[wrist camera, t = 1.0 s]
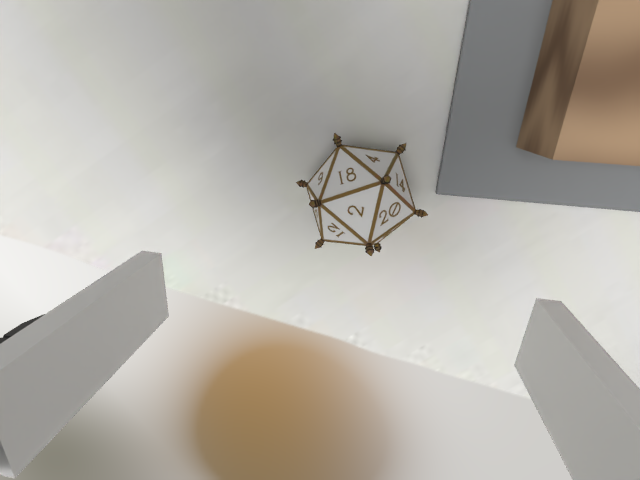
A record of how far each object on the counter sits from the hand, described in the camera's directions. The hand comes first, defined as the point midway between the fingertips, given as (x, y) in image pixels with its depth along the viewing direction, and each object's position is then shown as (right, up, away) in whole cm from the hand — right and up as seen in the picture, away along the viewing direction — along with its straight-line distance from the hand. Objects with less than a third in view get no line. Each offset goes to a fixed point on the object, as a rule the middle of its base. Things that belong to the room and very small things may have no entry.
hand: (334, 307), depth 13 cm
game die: (+3, +7, +17) cm, 19 cm away
